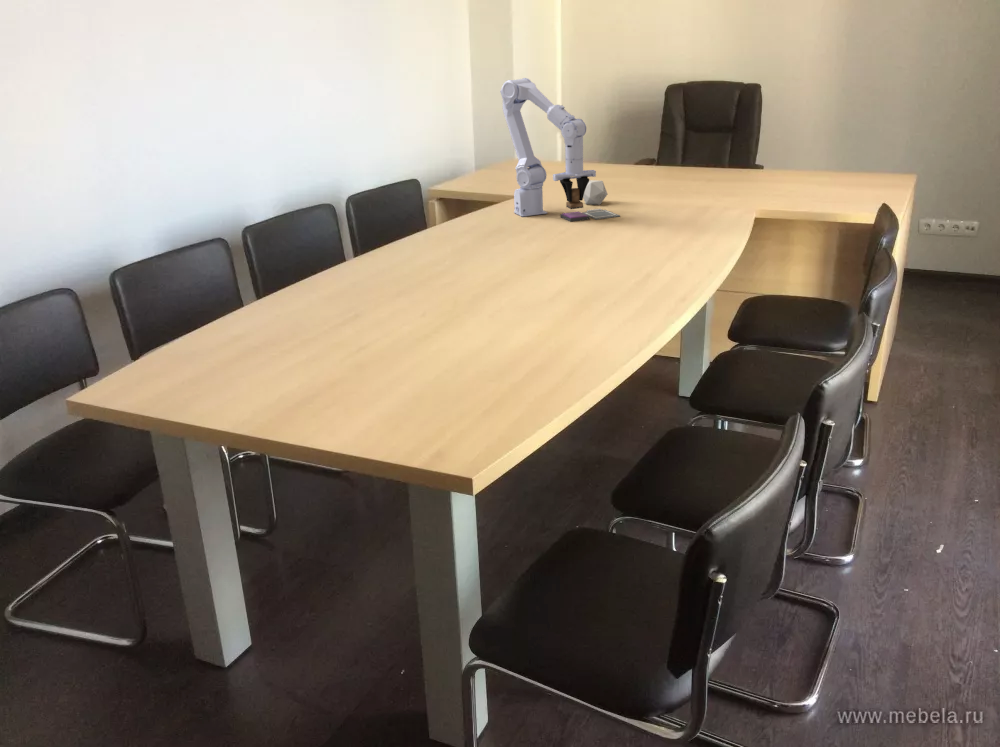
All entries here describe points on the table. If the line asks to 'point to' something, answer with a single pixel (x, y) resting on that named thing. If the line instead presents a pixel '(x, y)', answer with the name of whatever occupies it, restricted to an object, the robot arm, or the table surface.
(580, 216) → the ink pad
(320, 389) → the table surface
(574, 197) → the stamp
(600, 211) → the grey framed plate
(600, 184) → the die
